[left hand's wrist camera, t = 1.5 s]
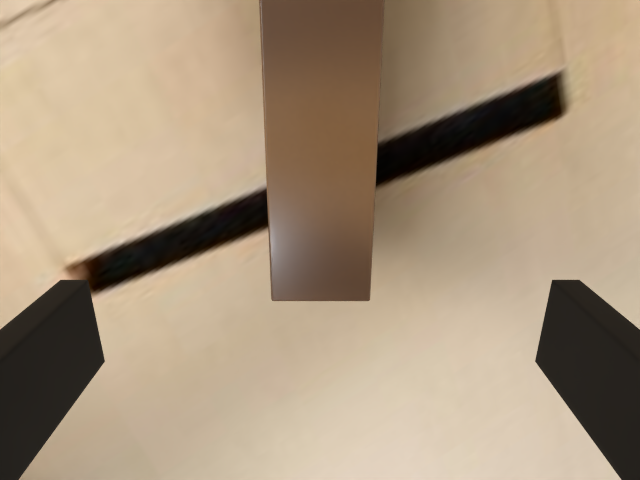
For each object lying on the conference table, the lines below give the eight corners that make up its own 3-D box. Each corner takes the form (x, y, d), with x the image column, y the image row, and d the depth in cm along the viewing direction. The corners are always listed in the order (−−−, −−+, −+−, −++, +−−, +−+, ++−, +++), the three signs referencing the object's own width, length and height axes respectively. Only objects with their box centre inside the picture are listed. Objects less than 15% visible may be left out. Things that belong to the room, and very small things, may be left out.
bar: (356, 241, 28) (370, 301, 21) (283, 241, 28) (271, 301, 21) (374, -260, 20) (406, -452, 12) (269, -261, 20) (240, -453, 12)
